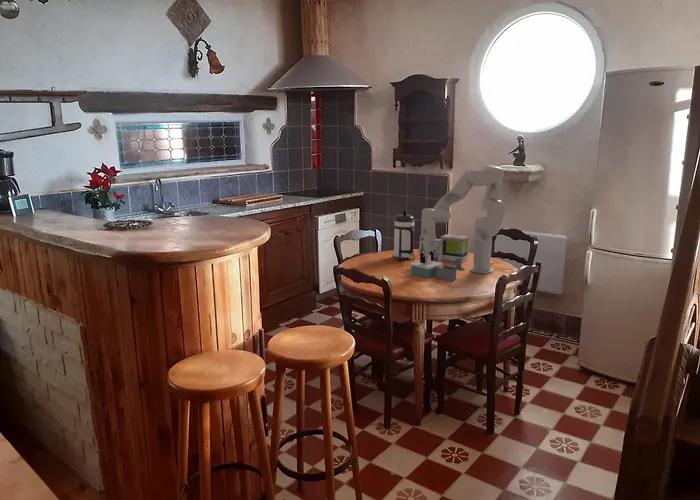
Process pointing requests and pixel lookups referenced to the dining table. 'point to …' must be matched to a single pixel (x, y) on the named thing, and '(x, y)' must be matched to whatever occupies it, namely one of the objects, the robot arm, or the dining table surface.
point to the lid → (426, 263)
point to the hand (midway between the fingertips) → (426, 261)
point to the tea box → (454, 247)
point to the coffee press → (404, 236)
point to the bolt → (458, 265)
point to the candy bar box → (438, 251)
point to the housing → (435, 272)
